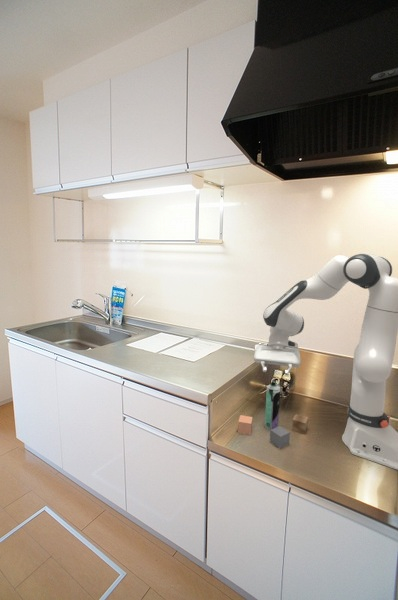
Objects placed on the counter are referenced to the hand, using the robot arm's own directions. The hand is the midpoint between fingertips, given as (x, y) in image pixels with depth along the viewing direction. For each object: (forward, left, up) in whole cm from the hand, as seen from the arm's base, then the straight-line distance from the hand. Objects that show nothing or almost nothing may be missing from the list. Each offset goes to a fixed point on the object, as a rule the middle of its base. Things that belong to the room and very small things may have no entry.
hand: (275, 373), depth 130 cm
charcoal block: (-12, +15, -20) cm, 28 cm away
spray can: (-4, +8, -20) cm, 22 cm away
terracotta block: (+2, +18, -20) cm, 27 cm away
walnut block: (-13, +1, -20) cm, 24 cm away
